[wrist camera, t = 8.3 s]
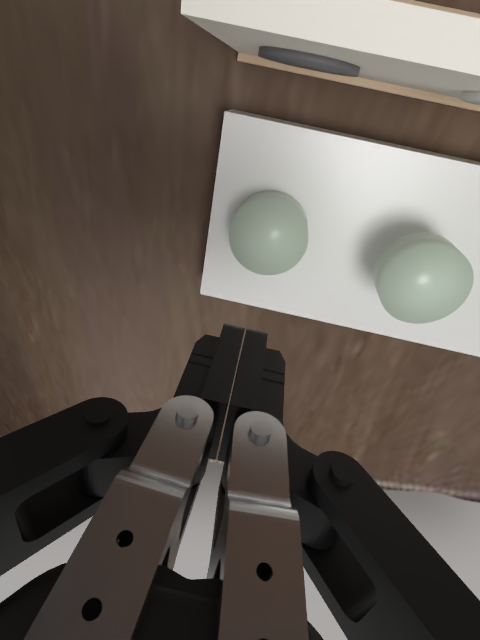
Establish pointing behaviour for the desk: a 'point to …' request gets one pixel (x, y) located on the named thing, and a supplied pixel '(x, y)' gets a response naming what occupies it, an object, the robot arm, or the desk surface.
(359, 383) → the desk surface
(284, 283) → the button panel
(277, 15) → the pattern card
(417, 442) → the desk surface
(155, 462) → the robot arm
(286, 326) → the desk surface
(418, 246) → the button middle
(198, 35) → the desk surface
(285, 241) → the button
